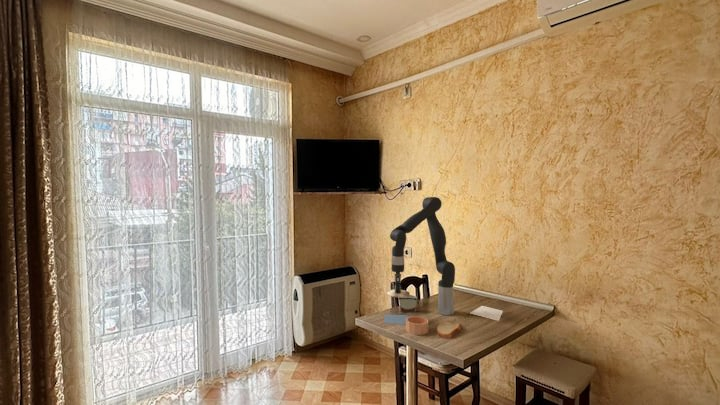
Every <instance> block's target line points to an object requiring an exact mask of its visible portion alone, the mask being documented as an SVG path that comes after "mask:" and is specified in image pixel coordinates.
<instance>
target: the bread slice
mask: <svg viewBox="0 0 720 405" xmlns="http://www.w3.org/2000/svg"><path fill="white" fill-rule="evenodd" d="M462 326H463V325H462V324H461V323H454V322H452V321H449V320H446V321H445V320H444V321H443V322H441V323H439V324H438V325H437V326H436V328H437V329H436V334H437V335H438V337H439V338H441V339H445V340H449V339H451V338H453V337H455V336H456V335H457V334H458V333H459V332H460V331H461V330H462Z"/></svg>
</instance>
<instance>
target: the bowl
mask: <svg viewBox="0 0 720 405" xmlns="http://www.w3.org/2000/svg"><path fill="white" fill-rule="evenodd" d="M405 331H406V332H407V333H409V334H412V335H415V336H417V337H419V336H421V335H426V334H428V333H429V320H428V319H427V318H426V317H423V316H419V315H417V316H416V315H415V316H413V315H412V316H409V317H408V318H406V324H405Z"/></svg>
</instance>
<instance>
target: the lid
mask: <svg viewBox="0 0 720 405" xmlns="http://www.w3.org/2000/svg"><path fill="white" fill-rule="evenodd" d="M385 295H387V296H388V297H392V298H399V297H407V296H409V295H411V294H410V291H407V290H404V289H402V286H401V284H400V293H396V286H395V285H394V289H389V290H386V292H385Z"/></svg>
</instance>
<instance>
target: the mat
mask: <svg viewBox="0 0 720 405" xmlns="http://www.w3.org/2000/svg"><path fill="white" fill-rule="evenodd" d="M408 317H410V315H407V314H390V313H389V314H387V313H386V314H384V320H383V324H387V325H388V324H390V325H392V324H393V325H406V318H408Z"/></svg>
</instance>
